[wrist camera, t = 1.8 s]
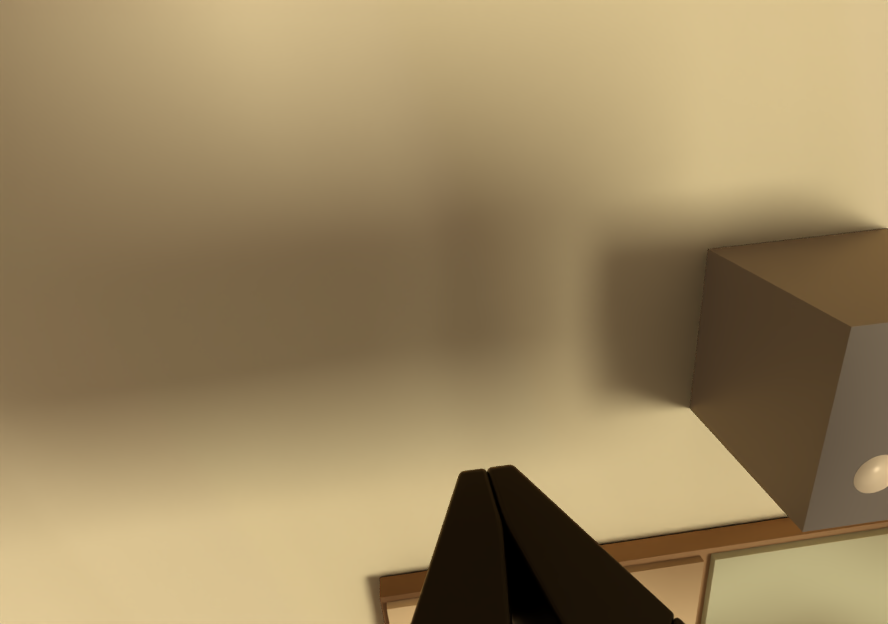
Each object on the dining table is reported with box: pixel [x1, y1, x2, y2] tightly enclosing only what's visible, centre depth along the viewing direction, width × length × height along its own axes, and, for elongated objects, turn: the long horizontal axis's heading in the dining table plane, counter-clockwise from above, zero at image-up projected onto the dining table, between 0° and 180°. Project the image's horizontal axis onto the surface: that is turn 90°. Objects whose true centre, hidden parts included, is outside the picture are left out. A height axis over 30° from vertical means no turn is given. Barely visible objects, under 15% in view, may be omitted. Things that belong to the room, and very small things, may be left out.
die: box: [690, 228, 888, 532], centre depth 11 cm, size 4×4×4 cm
